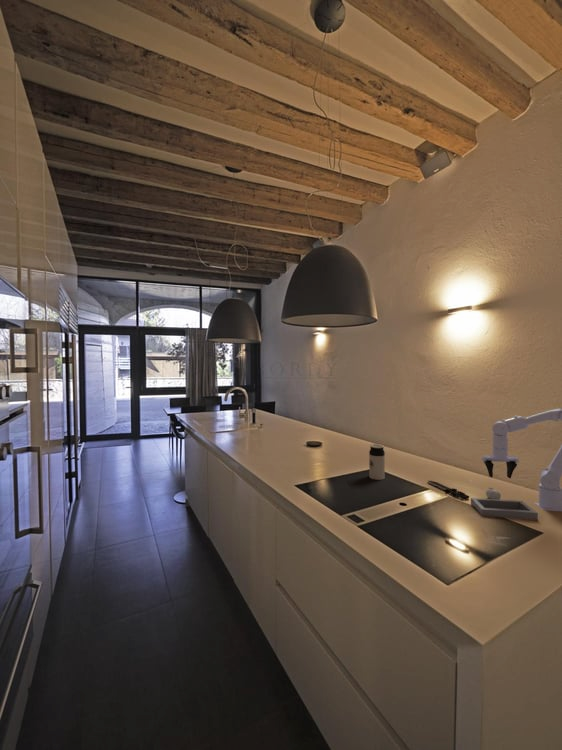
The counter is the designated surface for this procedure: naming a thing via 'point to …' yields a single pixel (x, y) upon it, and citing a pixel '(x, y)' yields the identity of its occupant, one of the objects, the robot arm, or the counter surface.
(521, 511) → the tray
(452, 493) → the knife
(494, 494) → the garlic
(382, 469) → the travel mug
